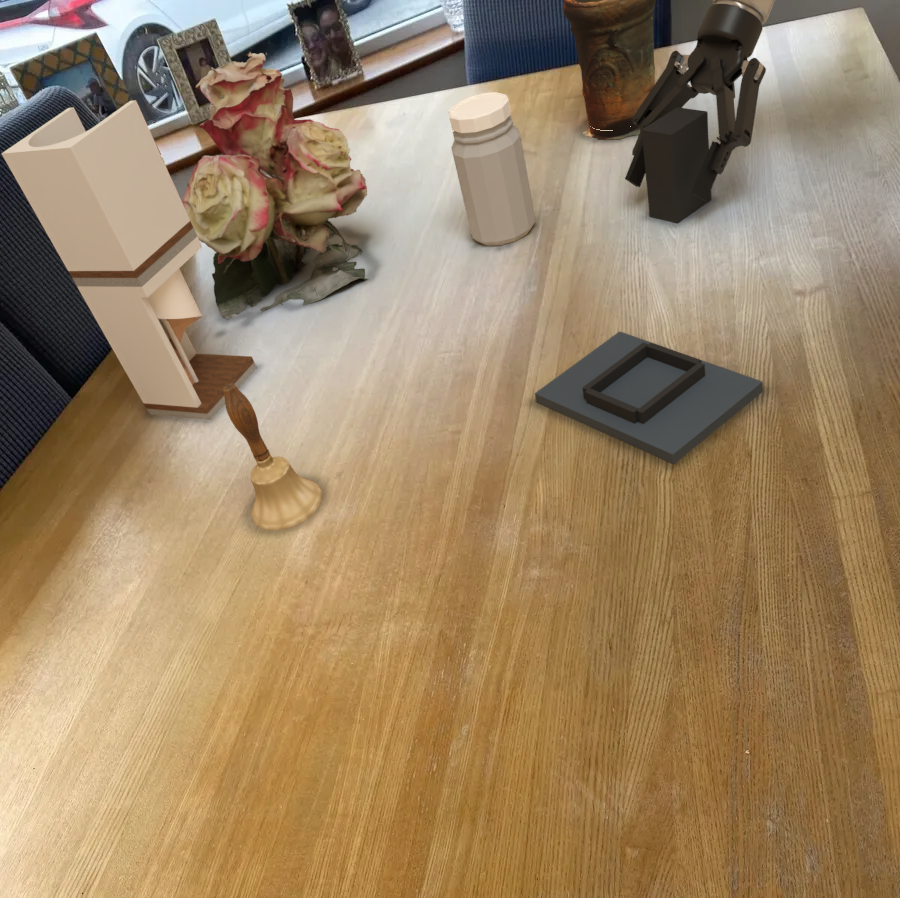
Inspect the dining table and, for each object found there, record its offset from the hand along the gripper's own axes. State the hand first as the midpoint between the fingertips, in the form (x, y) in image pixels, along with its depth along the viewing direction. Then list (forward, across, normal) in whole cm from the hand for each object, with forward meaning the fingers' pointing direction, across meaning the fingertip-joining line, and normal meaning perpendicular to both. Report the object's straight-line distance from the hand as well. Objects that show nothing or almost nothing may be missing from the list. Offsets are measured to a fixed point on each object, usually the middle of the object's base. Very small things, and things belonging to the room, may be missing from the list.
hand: (664, 190), depth 126 cm
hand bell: (+51, +4, -45) cm, 68 cm away
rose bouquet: (+27, -42, -21) cm, 54 cm away
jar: (+12, -20, -6) cm, 24 cm away
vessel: (-13, -29, +19) cm, 37 cm away
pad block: (+1, 0, +5) cm, 5 cm away
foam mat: (+26, +25, -20) cm, 41 cm away
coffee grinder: (+47, -28, -40) cm, 68 cm away
